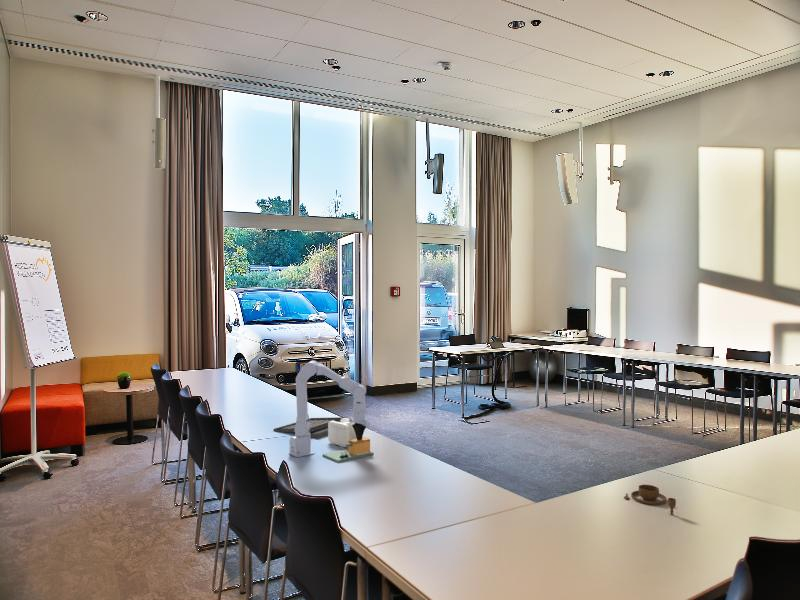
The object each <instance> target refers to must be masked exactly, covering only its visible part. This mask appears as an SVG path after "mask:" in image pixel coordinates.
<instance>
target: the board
mask: <svg viewBox="0 0 800 600" xmlns="http://www.w3.org/2000/svg"><path fill="white" fill-rule="evenodd" d="M345 450H347V455H349V457H345V458H340V456H341V451H343V455H345ZM372 455H374V452H373V451H372V450H370V452H366V453H362V454H358V455H353V454H350V453H349V448H345V449H341V450H335V451H331V452H327V453H322V457H323V458H326V459H328V460H330V461H332V462H335V463H343V462H348V461H352V460H356V459H361V458H364V457H369V456H372Z"/></svg>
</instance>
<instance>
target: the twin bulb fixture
mask: <svg viewBox="0 0 800 600" xmlns="http://www.w3.org/2000/svg"><path fill="white" fill-rule="evenodd" d="M345 457H349V455H347V450H345V455H343V451H341V456H340V458H345Z"/></svg>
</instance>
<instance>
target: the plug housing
mask: <svg viewBox="0 0 800 600" xmlns="http://www.w3.org/2000/svg"><path fill="white" fill-rule="evenodd" d="M345 448H348V449H349V453H350V454H353V455H358V454H362V453H366V452H370V451H371V439H370V438H367V437H364V436H363V437H362V439H361V440H357V439H352V440H349V444H346V447H345Z"/></svg>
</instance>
